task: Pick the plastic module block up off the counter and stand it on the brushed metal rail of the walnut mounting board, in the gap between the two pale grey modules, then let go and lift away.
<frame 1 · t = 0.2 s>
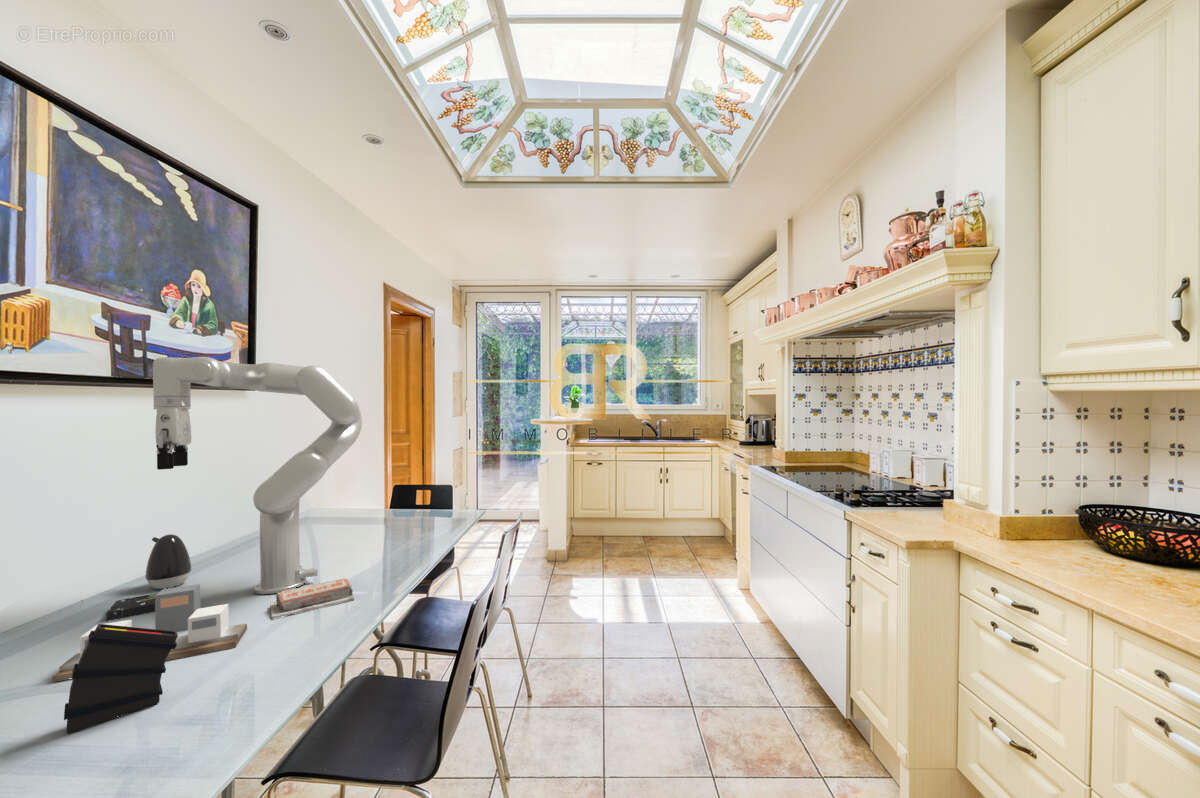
hand: (173, 467, 130), 36 cm above the table, tool pointing down, fingers open, 9 cm apart
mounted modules: (159, 631, 101), on the rail board, point 4 cm above the table
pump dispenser: (168, 586, 144), on the table
module block: (178, 628, 114), on the table
packaged product: (312, 606, 126), on the table
rail board: (160, 653, 101), on the table
black ridged block: (124, 713, 81), on the table
disk drive: (150, 609, 128), on the table
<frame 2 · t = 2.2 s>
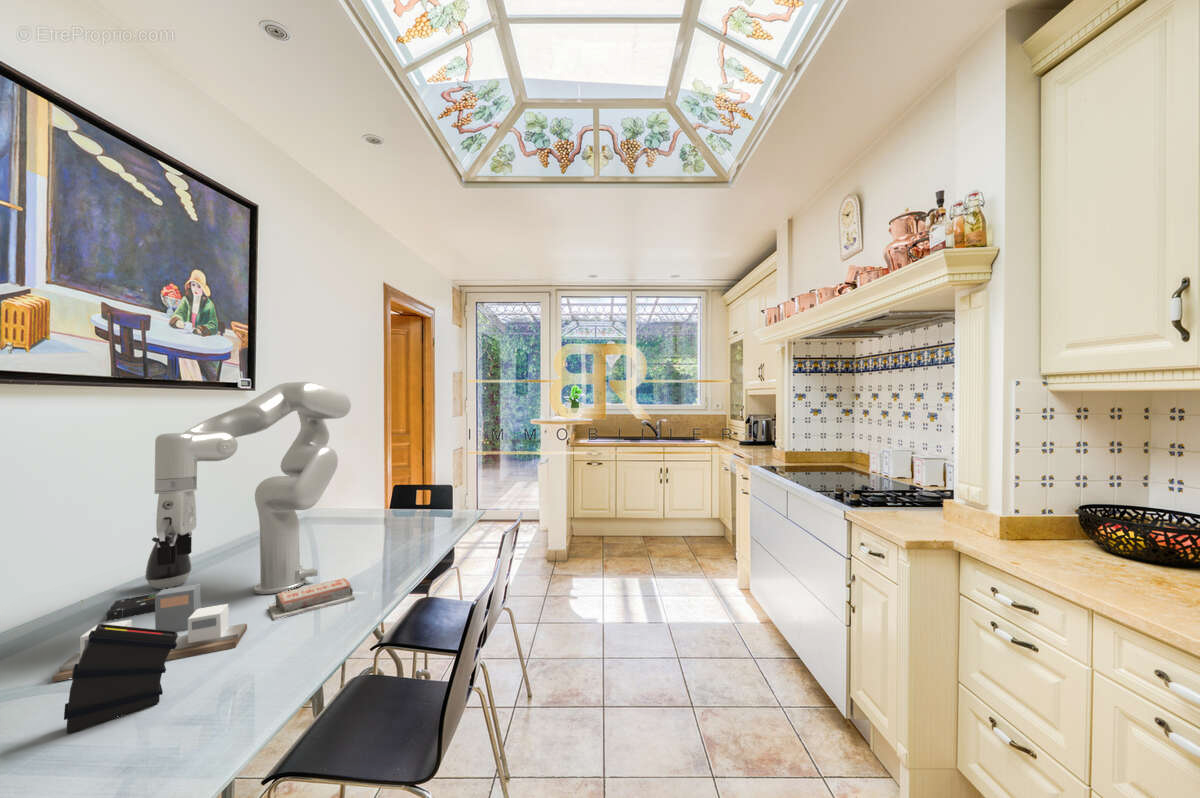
hand: (175, 559, 113), 16 cm above the table, tool pointing down, fingers open, 9 cm apart
nothing on the table moved.
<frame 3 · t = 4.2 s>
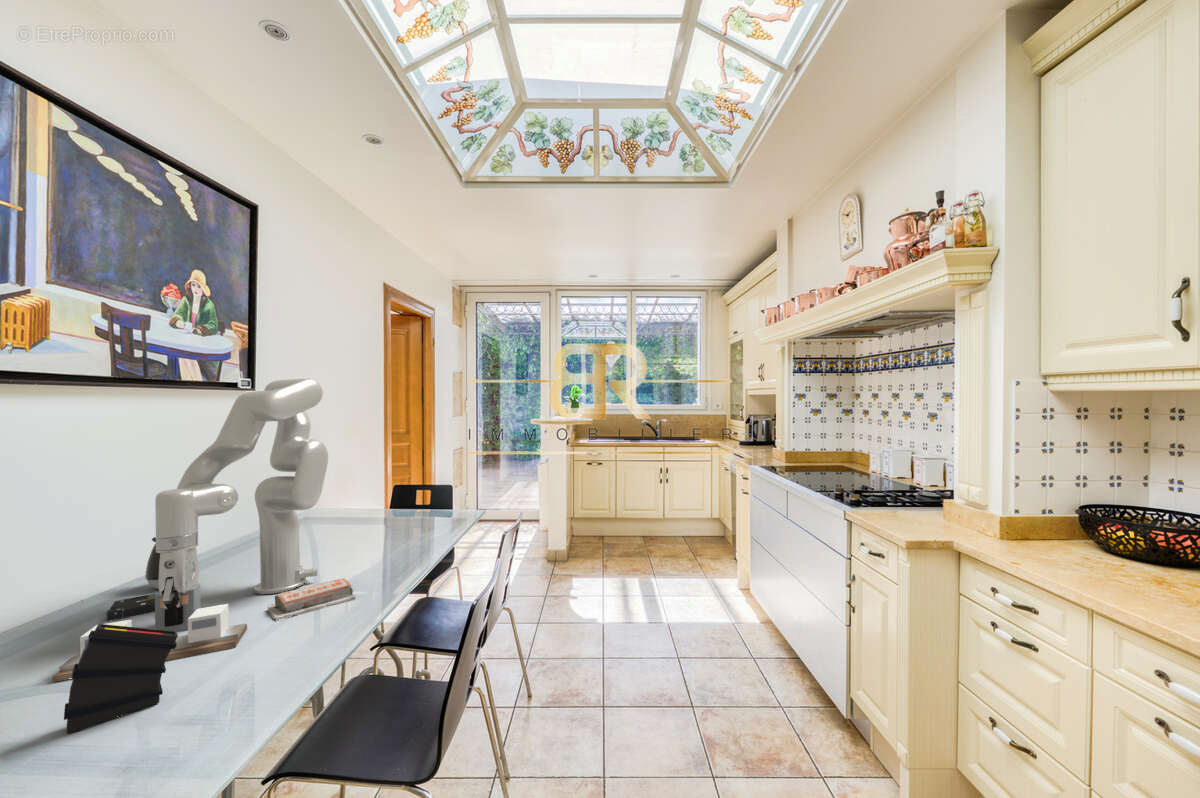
hand: (178, 619, 114), 2 cm above the table, tool pointing down, fingers closed on module block, 4 cm apart
module block: (178, 628, 114), on the table, touching gripper
everything else where it was.
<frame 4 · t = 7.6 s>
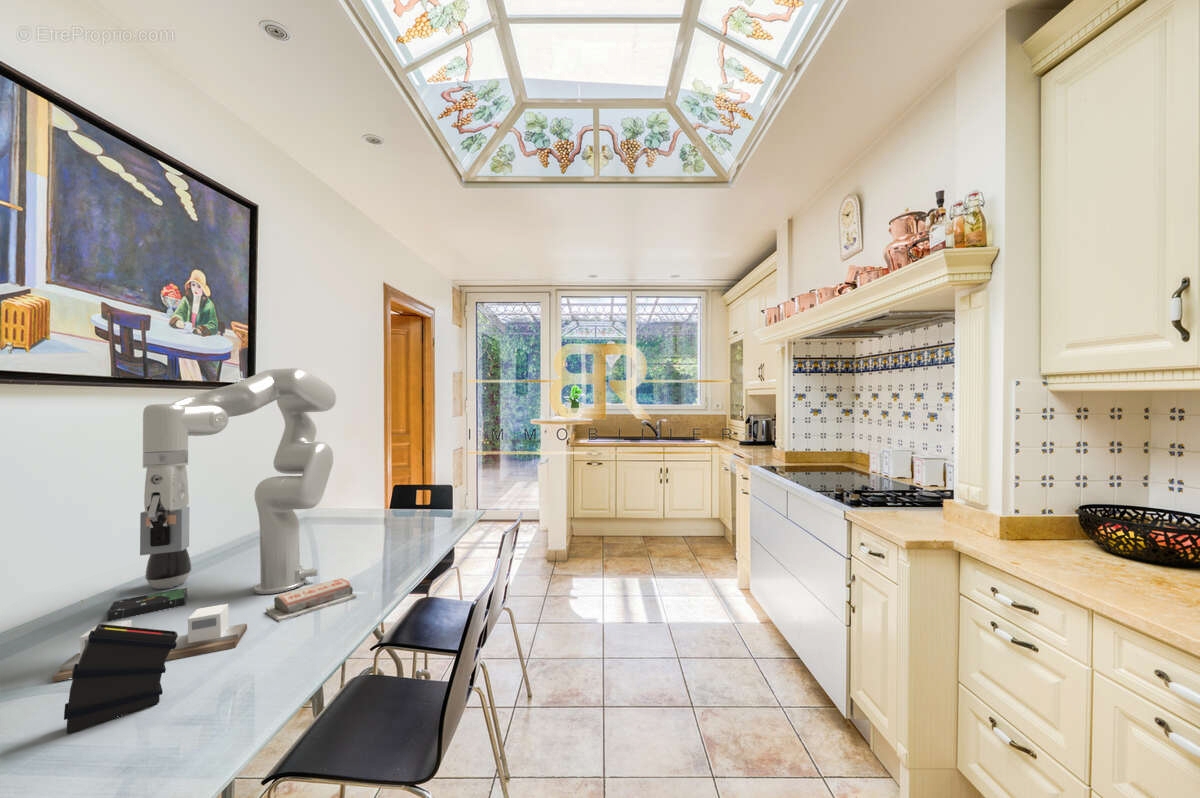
hand: (165, 542, 107), 22 cm above the table, tool pointing down, fingers closed on module block, 4 cm apart
module block: (165, 550, 107), point 20 cm above the table, touching gripper
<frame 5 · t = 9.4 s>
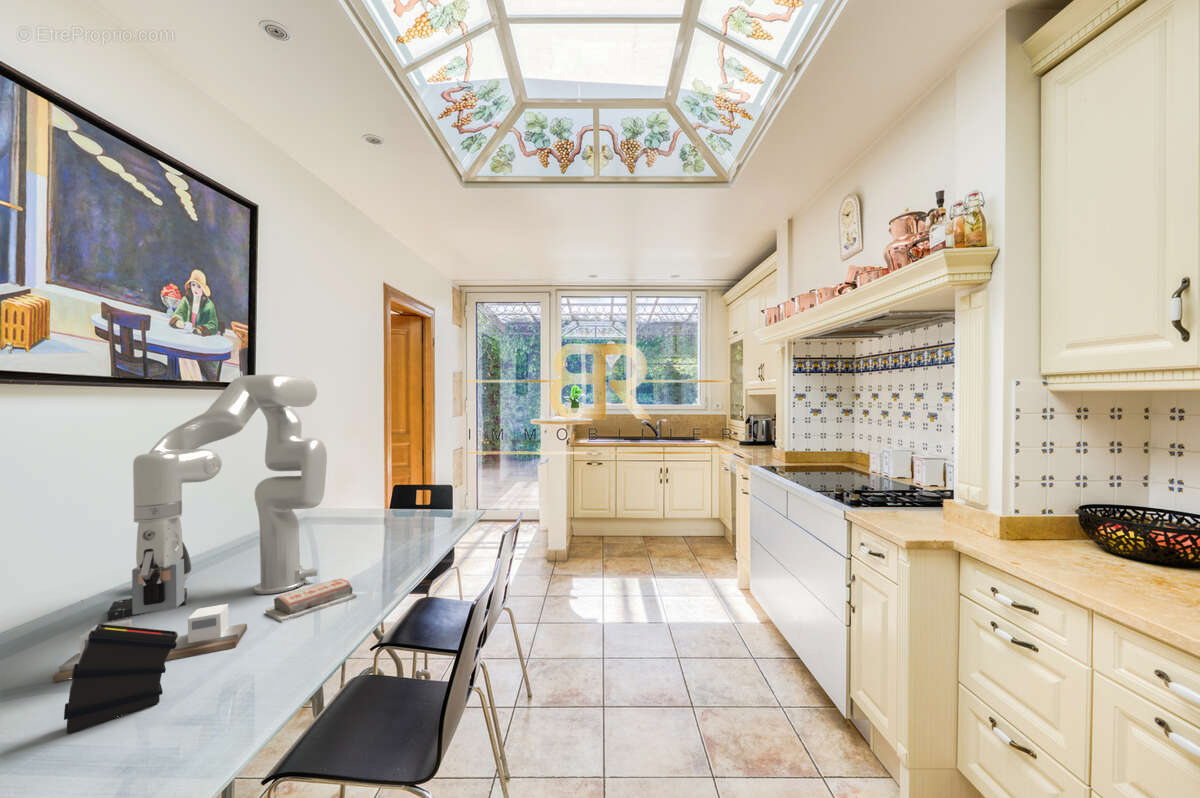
hand: (159, 598, 102), 11 cm above the table, tool pointing down, fingers closed on module block, 4 cm apart
module block: (159, 607, 102), point 9 cm above the table, touching gripper
when the fingers open (5 cm above the table, at t = 11.2 s): module block stays where it is, resting on rail board.
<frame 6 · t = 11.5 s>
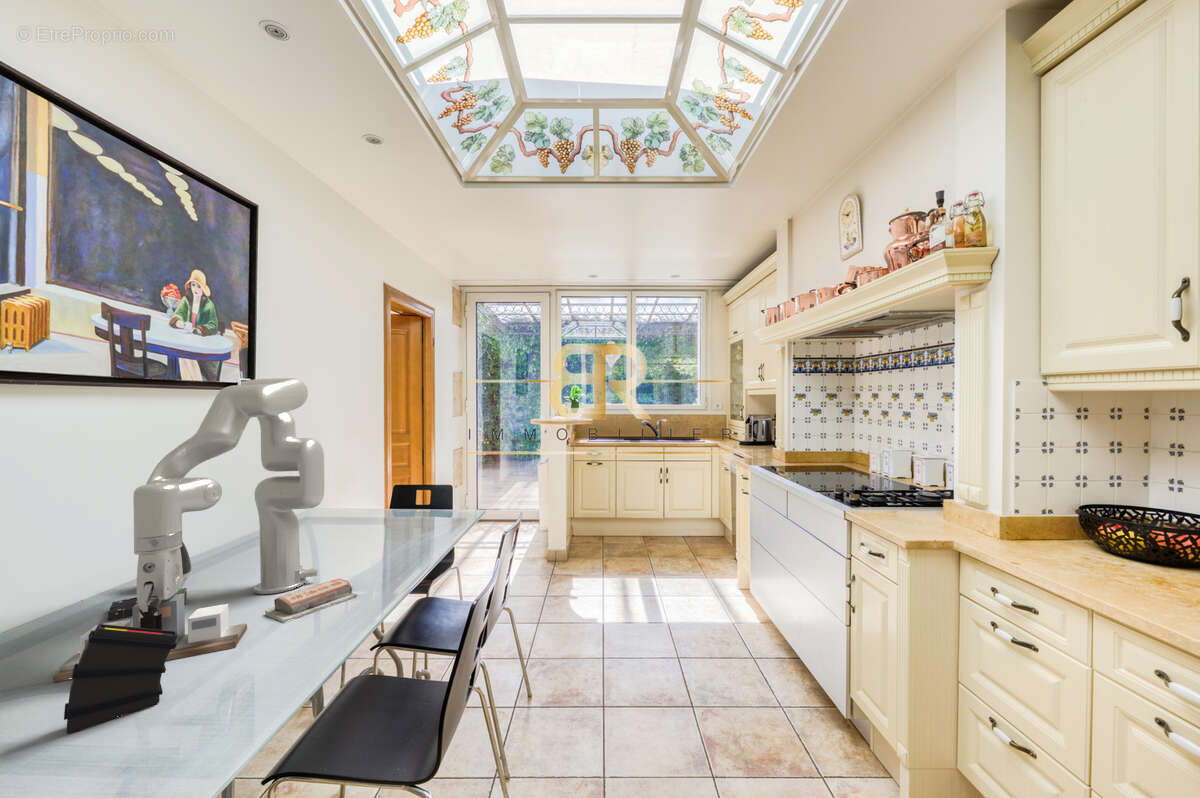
hand: (159, 627, 101), 5 cm above the table, tool pointing down, fingers open, 7 cm apart
module block: (159, 643, 101), point 2 cm above the table, touching rail board
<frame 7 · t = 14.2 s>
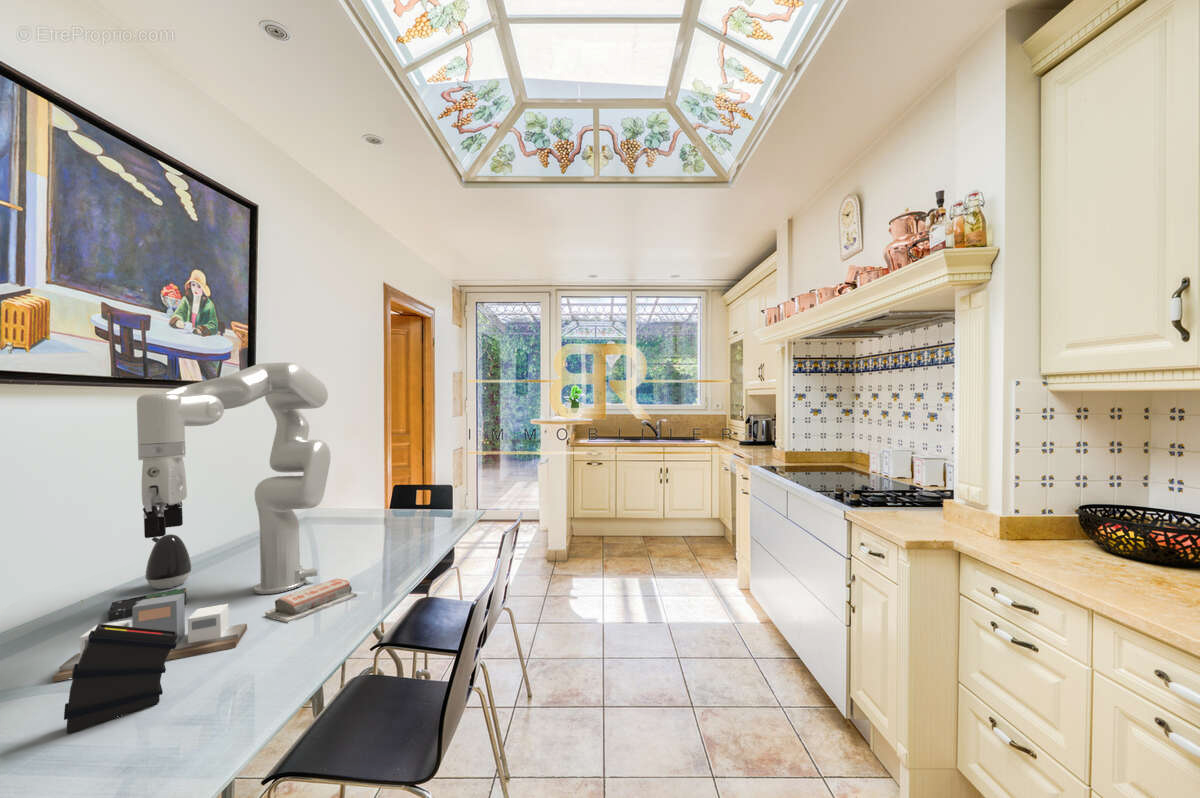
hand: (164, 531, 104), 25 cm above the table, tool pointing down, fingers open, 9 cm apart
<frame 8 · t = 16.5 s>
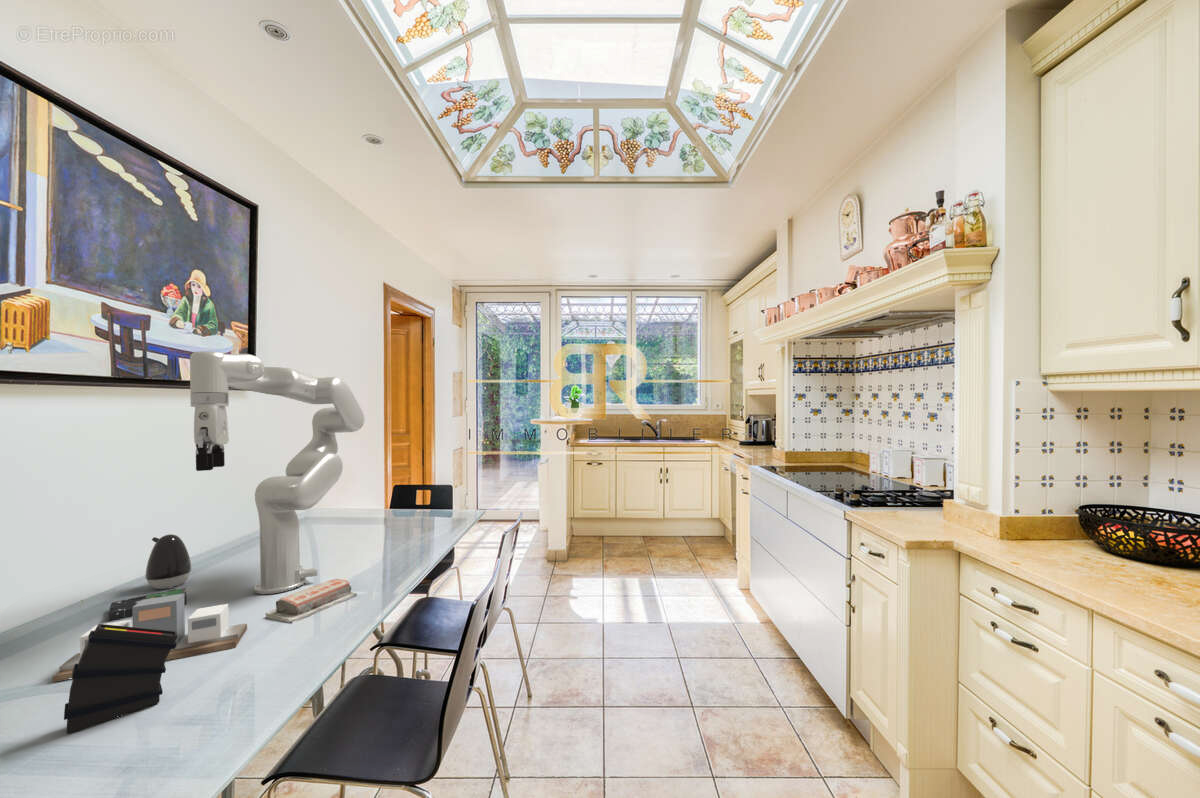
hand: (210, 468, 122), 36 cm above the table, tool pointing down, fingers open, 9 cm apart
at the end: module block 0.1 cm off-centre on the rail board, point 2.0 cm above the rail board's base; module block tilted 0°; the gripper is holding nothing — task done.
